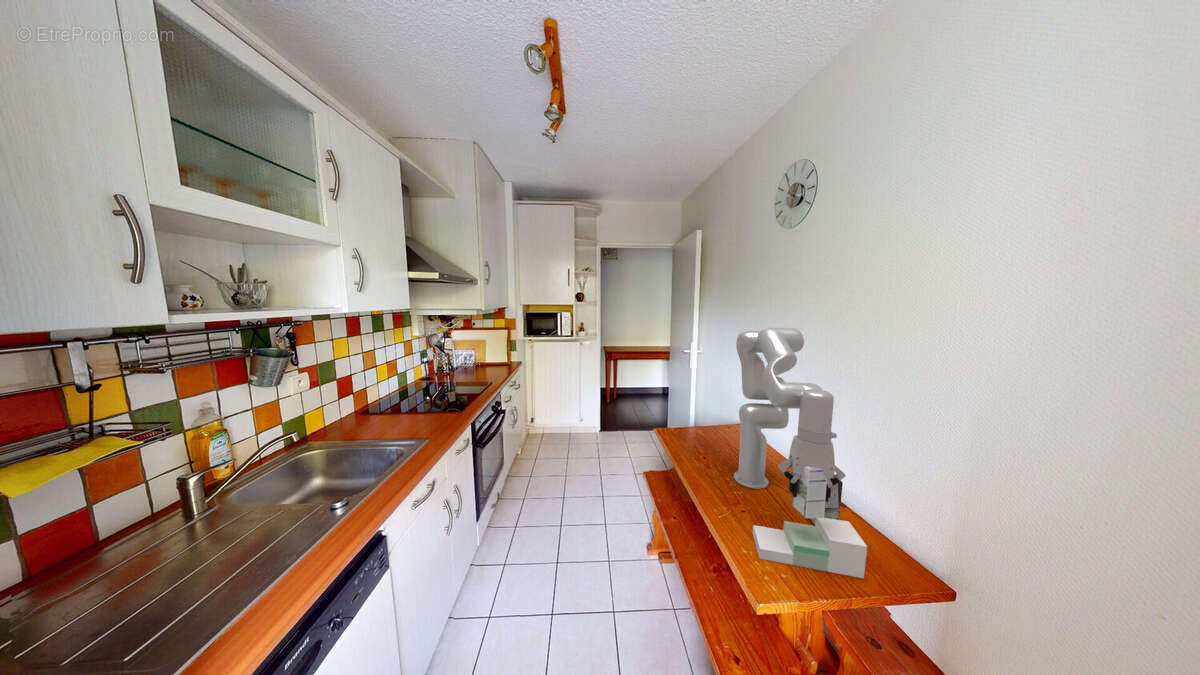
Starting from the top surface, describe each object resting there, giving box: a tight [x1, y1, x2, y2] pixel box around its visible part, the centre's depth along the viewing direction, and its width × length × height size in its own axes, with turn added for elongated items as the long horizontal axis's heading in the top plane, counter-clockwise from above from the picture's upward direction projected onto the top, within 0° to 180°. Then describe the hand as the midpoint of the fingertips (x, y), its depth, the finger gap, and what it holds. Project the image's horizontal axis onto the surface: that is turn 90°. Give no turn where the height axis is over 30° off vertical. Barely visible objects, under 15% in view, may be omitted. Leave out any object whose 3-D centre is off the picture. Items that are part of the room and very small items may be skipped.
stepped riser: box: [752, 518, 868, 579], centre depth 93 cm, size 10×25×9 cm, turn 75°
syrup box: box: [791, 466, 827, 519], centre depth 91 cm, size 6×6×14 cm
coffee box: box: [810, 473, 844, 525], centre depth 107 cm, size 9×6×16 cm
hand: (808, 496), depth 91 cm, fingers closed on syrup box, 7 cm apart
